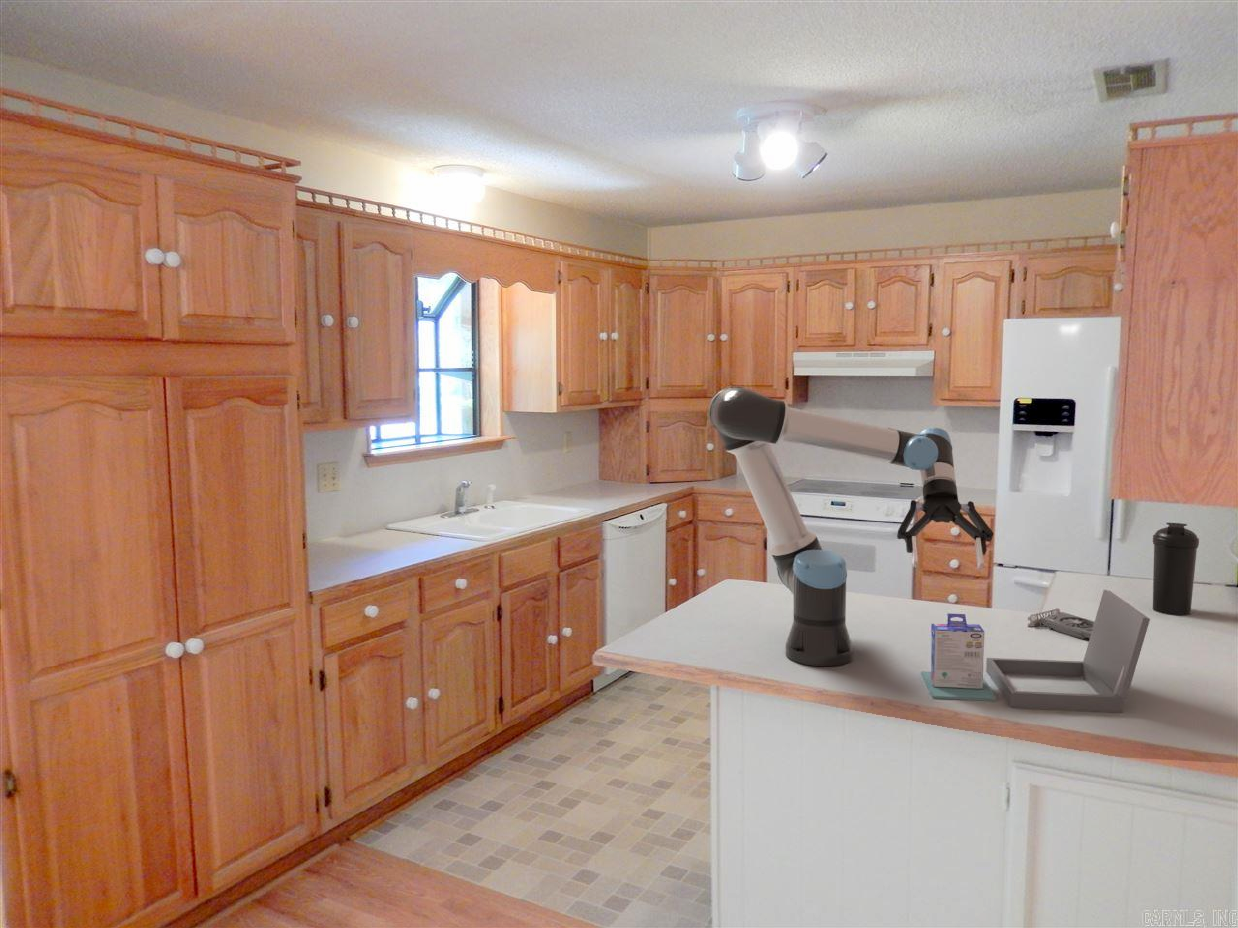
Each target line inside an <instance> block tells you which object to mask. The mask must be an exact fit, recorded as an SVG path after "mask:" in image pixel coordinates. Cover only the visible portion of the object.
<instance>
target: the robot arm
mask: <svg viewBox="0 0 1238 928" xmlns="http://www.w3.org/2000/svg"><path fill="white" fill-rule="evenodd" d="M708 413H709V414H708V416H709V420H710V424H711V425H712V426H713V428H714V429H715V430H716V431H717V433H718V436H719V438H720V441H721V443H722V445H723V447H724V449H725V451H726V452H727V453H730V454H732V455H734V456H735V458H736V461H737V464H738V465H739V467H740V470H741V472H742V474H743V477H744V478H745V481H746V483H747V487H748V488H749V490H750V492H751V495H752V497H753V500H754V503H755V504H756V506H757V509H758V511H759V513H760V516H761V518H762V520H763V522H764V525H765V527H766V529H767V532H768V534H769V536H770V538H771V541H772V543H773V545H772V547H771V549H770V554H771V556H772V559H773V561H774V563H775V566H776V571H777V576H778V578H779V580H780V581H781V583H782V584H783V585H784V586H785V587H786V588H787V589H788V590H789V591H790V592H791V594H792V595H793V619H792V621H793V622H792V625H791V627H790V631H789V634H788V636H787V639H786V642H785V656H786V658H788V659H789V660H791V661H793V662H796V663H798V664H801V665H805V666H812V667H836V666H837V667H838V666H842V665H846V664H848V663H849V662H851V661H853V658H854V647H853V643H852V640H851V637H850V633H849V631H848V628H847V625H846V624H847V623H846V619H847V618H846V617H847V616H846V615H847V613H846V612H847V609H846V608H847V578H848V571H847V564H846V560H845V559H844V558H843V556H841V555H839V554H838V553H836V552H831V551H829V550H825V549H824V550H823V548H822V545H821V543H820V541H819V539H818V537H817V534H816V533H815V532H813V531H810V530H809V529H807V527H806V525H805V523H804V520H803V518H802V516H801V513H800V511H799V509H798V507H797V504H796V502H795V499H794V498H793V495H792V493H791V490H790V488H789V485H788V483H787V480H786V479H785V476H784V474H783V472H782V470H781V467H780V465H779V463H778V461H777V458H776V456H775V453H774V451H773V448H772V446H771V444H775V445H776V444H777V445H778V443H780V442H781V441H782V442H786V443H793V444H795V445H796V444H797V445H802V446H807V447H811V448H816V449H821V450H825V451H829V452H830V451H831V452H835V453H840V454H846V455H850V456H854V457H859V458H864V459H868V460H874V461H878V462H883V463H888V464H891V465H896V466H899V467H900V466H901V467H906V468H909V469H911V470H916V471H920V476H921V487H922V490H921V491H922V498H923V499H922V500H923V502H922V503H921V502H917V501H916V500H915V499H912V500H911V501H910V503H909V504H910V505H909V509H908V512H907V513H906V516H905V517H904V518H903V521H902V523H901V524H900V526H899V528H898V530H897V535H896V538H897V540H904V543H905V547H906V552H907V553H908V554H911V561H912V568H918V567H917V566H918V563H919V558H918V549H917V535H918V534H919V533H920V532H921V531H922V530H923V529H924V528H926V526H927V525H929V524H930V523H931V522H932V521H934V523H953V524H955V525H956V526H958V527H959V528H960V529H962V530H963V531H964V532H965V533H966V534H967V535H968V536H970V537H971V538H972V539H973V540H974V541H975V542H974V550H975V559H976V564H977V565H976V566H977V570H979V571H981V570H982V569H983V567H984V564H985V563H984V557H983V556H985V555H986V553H987V550H988V549H987V543H986V542H991V541H992V540H993V538H994V531H992V529H991V528H990V527H989V525H988V524H987V523H986V521H985V520H984V518H982V516H981V515H980V514H979V512H978V510H976V507H975V504H974V503H975V502H973V501H968V502H967V503H960V502H959V501H960V500H959V497H958V496H959V495H958V489H957V488H958V487H957V480H956V474H955V473H956V472H955V467H954V466H955V465H954V456H953V455H954V454H953V446H952V445H953V444H952V441H951V438H950V435H949V433H948V432H947V431H946V430H944V429H943V428H939V427H934V428H930V427H929V428H926V429H923V430H922V431H921V432H920V433H918V434H916V433H912V432H908V431H904V430H900V429H894V428H890V427H882V426H877V425H873V424H868V423H862V422H860V421H859V422H858V421H854V420H850V419H844V418H840V417H835V416H832V415H831V416H830V415H826V414H821V413H817V412H812V411H808V410H803V409H799V408H794V407H790V406H789V405H788V404H787V402H786V401H782V400H778V399H775V398H771V397H768V396H765V395H763V394H760V393H758V392H756V391H755V390H754V391H753V390H751V389H748V388H744V387H742V386H735V385H734V386H729V387H726V388H724V389H722V390H720V391H719V392H717V394H715V395H714V397H713V398H712V399H711V402H710V404H709V409H708ZM920 510H921V511H922V512H924V514H923V516H921V518H919V520H917V522H916V523H915V524H914V525H913V526H912V527H911V528H910V529H908V528H909V527H910V526H911V522H912V521H913V519H914V518H915V514H917V513H919V511H920ZM961 511H963V512H964V514H965V515H967V516H968V518H969V520H970V521H969V520H968V519H967V518H966V517H965V516H964V515H963V513H962V512H961ZM907 530H908V531H907Z"/></svg>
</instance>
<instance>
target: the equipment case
mask: <svg viewBox="0 0 1238 928" xmlns="http://www.w3.org/2000/svg"><path fill="white" fill-rule="evenodd" d="M1150 620H1151V618H1149V617H1148V616H1146V614H1144V613H1142V612H1141V611H1139V610H1138V609H1136V608H1135V607H1134V606H1133V605H1131V604H1129V603H1128V602H1127V601H1125V600H1124V599H1122V598H1121V597H1119V596H1118V595H1117V594H1115V593H1114V592H1113V591H1111V590H1108V589H1103V591H1102V595H1101V598H1100V601H1099V605H1098V609H1097V612H1096V615H1095V620H1094V626H1093V629H1092V633H1091V636H1090V638H1089V641H1088V643H1087V647H1086V651H1085V654H1084V657H1083V661H1081V660H1080V661H1079V660H1053V659H1027V658H1026V659H1025V658H1024V659H1023V658H1003V657H1002V658H1001V657H1000V658H998V657H986V666H985V673H986V674H987V675H988V676H989V677H990V679H991V680H992V682H993V684H994V685H995V686H996V688H997V689H998V691H999V693H1000V694H1001V695H1002V697H1003V699H1005V701H1006V703H1007V704H1008V706H1009V707H1010V708H1013V709H1014V708H1015V709H1031V710H1032V709H1033V710H1056V711H1058V710H1059V711H1076V712H1077V711H1080V712H1101V713H1118V714H1119V713H1123V706H1124V705H1123V704H1124V699H1127V697H1128V694H1129V691H1130V689H1131V685H1132V681H1133V678H1134V674H1135V672H1136V667H1137V666H1138V662H1139V659H1140V654H1141V651H1142V649H1143V644H1144V641H1145V637H1146V635H1147V631H1148V629H1149V624H1150ZM1004 674H1005V675H1006V674H1007V675H1030V676H1031V675H1032V676H1055V677H1056V676H1058V677H1059V676H1060V677H1077V678H1078V677H1081V678H1082V679H1084V680H1085V681H1086V683H1087V684H1089V686H1091V688H1092V689H1094V691H1095V692H1096V693H1097V694H1091V693H1090V694H1089V693H1071V692H1046V691H1044V692H1042V691H1023V690H1015V688H1014V687H1013V685H1012V684H1011V683H1010V681H1009V680H1008V679H1007V678H1006V676H1005V675H1004Z"/></svg>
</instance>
